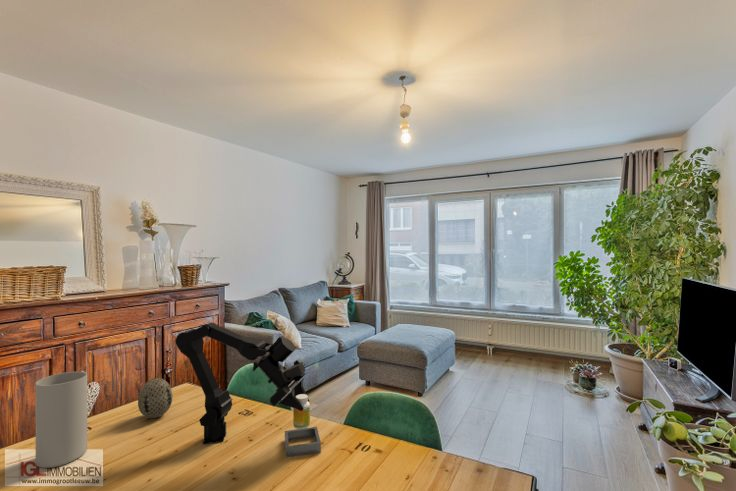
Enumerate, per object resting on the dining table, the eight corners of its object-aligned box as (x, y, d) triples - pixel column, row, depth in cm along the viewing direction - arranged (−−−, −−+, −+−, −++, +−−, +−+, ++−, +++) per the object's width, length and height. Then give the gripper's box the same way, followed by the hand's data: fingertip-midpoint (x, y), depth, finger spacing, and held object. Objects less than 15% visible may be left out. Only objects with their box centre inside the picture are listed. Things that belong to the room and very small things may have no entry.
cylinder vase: (96, 450, 118) (96, 373, 118) (52, 472, 106) (52, 387, 106) (70, 443, 122) (70, 369, 122) (25, 464, 110) (25, 382, 110)
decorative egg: (161, 424, 135) (161, 384, 136) (130, 424, 136) (130, 384, 136) (178, 410, 147) (178, 373, 147) (150, 410, 147) (150, 373, 147)
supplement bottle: (306, 430, 116) (306, 400, 116) (290, 428, 117) (290, 399, 118) (312, 422, 122) (312, 393, 122) (297, 421, 123) (297, 392, 123)
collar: (285, 457, 113) (285, 448, 113) (284, 439, 123) (284, 431, 123) (320, 452, 116) (320, 442, 116) (316, 435, 126) (316, 426, 126)
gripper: (279, 363, 111) (313, 401, 109) (300, 347, 130) (329, 379, 128) (255, 387, 112) (288, 425, 111) (279, 367, 131) (308, 400, 129)
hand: (305, 406), depth 119 cm, fingers closed on supplement bottle, 5 cm apart
